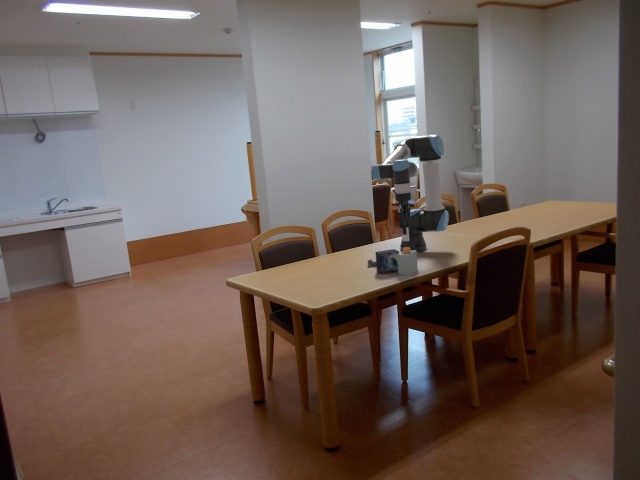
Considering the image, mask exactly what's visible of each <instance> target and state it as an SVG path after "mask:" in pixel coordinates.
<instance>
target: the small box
mask: <svg viewBox="0 0 640 480" xmlns="http://www.w3.org/2000/svg"><path fill="white" fill-rule="evenodd" d="M399 253H400V251H399V250H397V249H395V248H393V249H386V250H378V251H375V261H376V266H375V267H376V272H377V273H378V274H380V275H385V274H392V273H398V259H397V255H398V254H399Z"/></svg>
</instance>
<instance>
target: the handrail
mask: <svg viewBox="0 0 640 480" xmlns="http://www.w3.org/2000/svg"><path fill="white" fill-rule="evenodd" d="M367 267H376V260H373V259H371V258H370V259H367Z"/></svg>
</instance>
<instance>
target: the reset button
mask: <svg viewBox="0 0 640 480" xmlns="http://www.w3.org/2000/svg"><path fill="white" fill-rule="evenodd" d="M402 252H403V254H410V253H411V250H410V247H405V248H403V251H402Z"/></svg>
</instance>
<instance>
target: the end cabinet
mask: <svg viewBox="0 0 640 480" xmlns="http://www.w3.org/2000/svg"><path fill="white" fill-rule="evenodd" d="M397 259H398V272H397V273H398V275H399V276H412V275H413V274H414V273H416V272H418V267H419V266H418V252H416V250H411V253H410V254H403V251H401V252H399V254H398V255H397Z"/></svg>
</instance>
